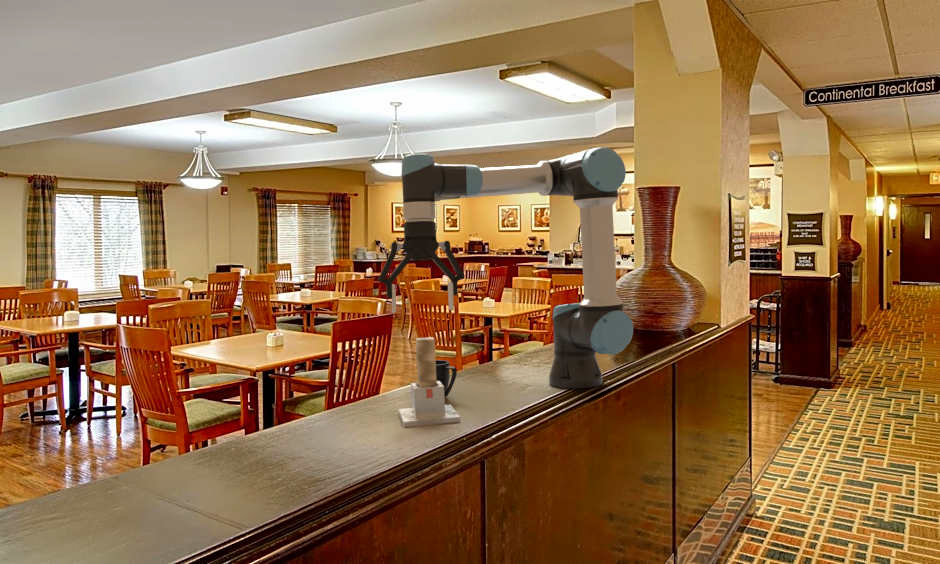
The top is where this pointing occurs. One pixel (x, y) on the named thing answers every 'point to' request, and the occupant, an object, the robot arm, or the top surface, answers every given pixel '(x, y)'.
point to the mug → (445, 375)
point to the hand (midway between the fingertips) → (422, 311)
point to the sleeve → (428, 407)
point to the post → (426, 362)
